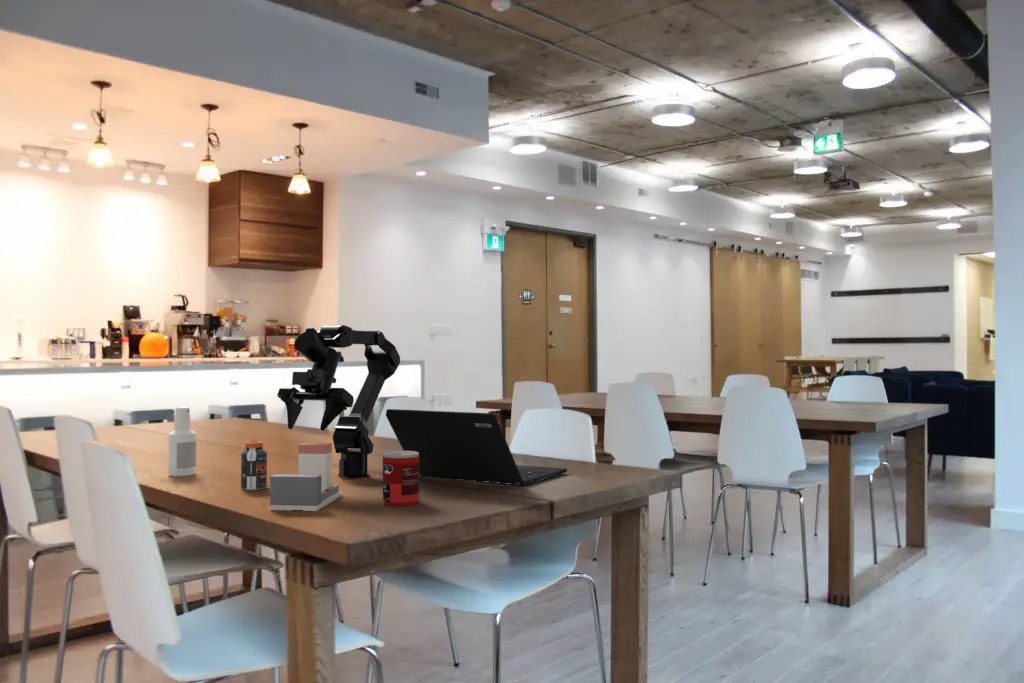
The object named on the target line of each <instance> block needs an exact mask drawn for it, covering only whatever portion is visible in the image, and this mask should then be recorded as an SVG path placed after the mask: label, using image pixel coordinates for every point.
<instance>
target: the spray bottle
mask: <svg viewBox="0 0 1024 683" xmlns="http://www.w3.org/2000/svg"><path fill="white" fill-rule="evenodd" d="M173 424H174V426H173V430H172V431H171V432H169V433H168V466H167V467H168V473H167V474H168V475H169V476H170V477H177V478H179V477H190V476H194V475H196V474H197V433H196V432H195V430H192V429H191V427H192V426H191V425H192V424H191V415H190V407H189V406H180V407H175V413H174V423H173Z"/></svg>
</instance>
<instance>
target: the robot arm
mask: <svg viewBox="0 0 1024 683" xmlns="http://www.w3.org/2000/svg"><path fill="white" fill-rule="evenodd" d="M293 343H294V345H293V346H294V348H295V351H297V352H298V353H299V354H300V355H302V356H303V357H304V358H305V359H306V360H308V361H309V362H310V363H313V365H312V368H311V369H307V370H306V371H292V378H291V385H292V386H281V387H280V388H279V389H278V391H277V395H276V397H277V398H279V399H280V401H282V403H284V405H285V407H286V413H287V415H286V416H287V428H288V429H289V430H292V429H293V428H294V426H296V425H295V424H296V422H297V421H298V418H299V416H300V414H301V412H302V410H303V408H304V407H303V406H302V405H303V404H304V402H305V401H323V402H324V403H325V407H324V413H323V416H322V418H321V422H320V428H319V429H320V431H323V432H324V431H325V430H326V429H327V428H328V427H329V426H330V425H331V424H332V422H333V421H334V420H335V419H336V418H338V416H339V415H341V413H343V412H344V411H347V410H348V408H352V409H351V411H350V413H349V415H346V416H345V415H341V416H340V417H339V418H338V421H337V424H336V425H335V426H334V427H333V429H334V431H333V434H332V441H333V442H332V443H333V446H334V450H335V454H340V459H338V462H339V463H338V464H339V465H338V468H339V469H338V474H337V476H338V477H341V478H346V479H349V480H350V479H358V478H359V479H360V478H367V477H371V474H370V473H368V455H371V454H372V453H373V452H374V451H373V450H374V446H375V445H374V444H373V441H372V440H371V439H370V437H369V433H370V430H369V427H368V426H369V425H368V420H369V418H370V416H371V414H372V412H373V410H374V407H375V405H376V402H377V400H378V398H379V395H380V393H381V391H382V388H383V387H384V384H385V382H386V380H388V379H389V378H391V376H393V375H394V374H395V373H396V371H397V369H398V368H399V366H400V364H401V355H400V353H399V352H398V350H397V348H396V346H395V345H394V344H393V343H392V342H391V341H389V340H388V339H387V338H386V336H385V334H384V332H382V331H380V330H358V329H357V330H355V329H353V328H352V327H351V326H348V325H344V324H339V325H338V324H335V325H334V324H332V325H330V324H328V325H326V324H325V325H321V327H320V329H319V331H317V330H316V329H315V328H314V327H306V329H305V331H304V332H302V333H300V334H299V335H298V336H297V338H295V340H294V342H293ZM353 345H364V357H365V358H366V361H367V362H366V367H367V371H368V372H367V376H366V377H365V380H364V382H363V384H362V387H361V389H360V391H359V393H358V395H357V398H356V399H354V396H353V395H352V394H351V393H350V392H349V391H348V390H346V388H344V387H332V385H333V384H336V383H337V379H336V377H335V375H336V372H337V368H338V364H339V363H345V358H344V355H343V354H342V352H341V351H337V350H336V349H335V348H338V349H343V348H344V349H345V348H348V347H352V346H353ZM372 346H378V348H379V349H373V348H372ZM295 385H296V386H299V388H300V389H301V390H304V391H300V389H297V388H296V387H295ZM354 401H355V403H354Z"/></svg>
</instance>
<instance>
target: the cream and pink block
mask: <svg viewBox="0 0 1024 683" xmlns="http://www.w3.org/2000/svg"><path fill="white" fill-rule="evenodd" d="M297 449H298V450H297V452H298V453H297V454H298V456H297V457H298V460H297V461H298V463H297V464H298V466H297V467H298V468H297V469H298V470H297V472H298V474H297V475H321V492H323V491H324V490H327V489H329V488H331V487H332V486H333V442H302V443H299V444H298V448H297Z"/></svg>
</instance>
